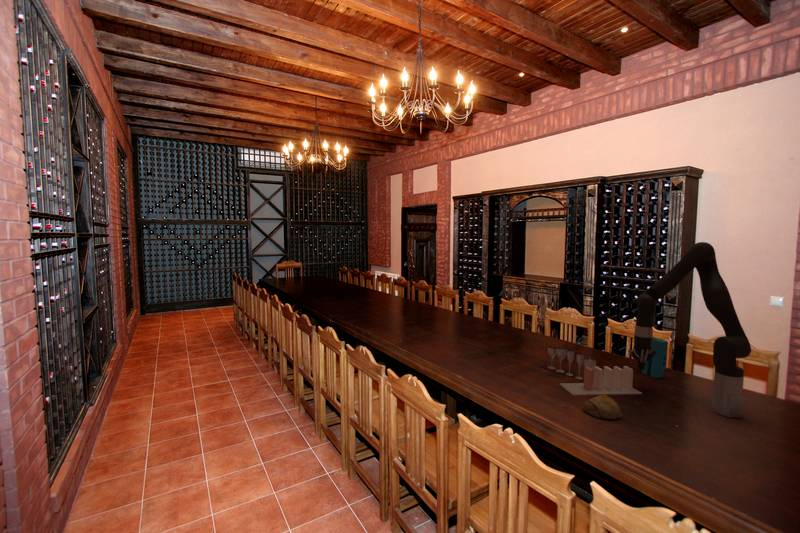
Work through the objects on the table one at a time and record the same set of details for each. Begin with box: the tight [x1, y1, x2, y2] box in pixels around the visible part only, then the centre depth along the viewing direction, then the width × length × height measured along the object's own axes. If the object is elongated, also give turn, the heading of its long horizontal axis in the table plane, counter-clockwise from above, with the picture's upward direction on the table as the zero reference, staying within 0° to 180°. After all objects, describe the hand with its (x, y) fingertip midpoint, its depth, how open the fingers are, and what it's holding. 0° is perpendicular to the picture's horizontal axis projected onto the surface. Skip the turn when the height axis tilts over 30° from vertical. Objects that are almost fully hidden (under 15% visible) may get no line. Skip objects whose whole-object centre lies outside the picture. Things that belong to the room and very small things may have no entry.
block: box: [641, 337, 669, 379], centre depth 202 cm, size 12×5×20 cm, turn 21°
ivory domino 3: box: [612, 365, 623, 390], centre depth 184 cm, size 5×2×10 cm, turn 4°
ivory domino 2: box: [603, 365, 614, 390], centre depth 184 cm, size 5×2×10 cm, turn 4°
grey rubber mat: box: [559, 382, 643, 397], centre depth 184 cm, size 13×34×1 cm, turn 94°
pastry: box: [582, 394, 623, 421], centre depth 159 cm, size 14×12×8 cm
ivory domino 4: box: [622, 365, 634, 390], centre depth 184 cm, size 5×2×10 cm, turn 4°
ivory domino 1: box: [593, 366, 604, 390], centre depth 183 cm, size 5×2×10 cm, turn 4°
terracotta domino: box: [583, 366, 594, 391], centre depth 183 cm, size 5×2×10 cm, turn 4°
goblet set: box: [547, 345, 597, 380], centre depth 202 cm, size 28×6×13 cm, turn 30°
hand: (640, 369), depth 185 cm, fingers closed
